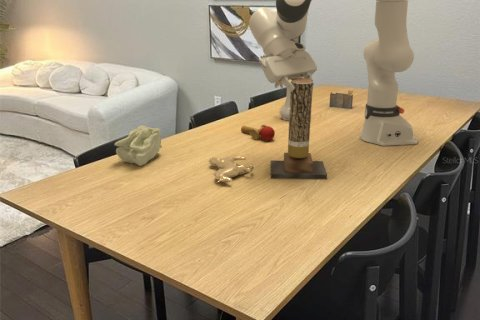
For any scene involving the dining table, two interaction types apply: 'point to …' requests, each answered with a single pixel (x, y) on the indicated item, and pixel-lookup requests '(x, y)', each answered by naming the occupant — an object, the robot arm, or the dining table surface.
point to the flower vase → (286, 107)
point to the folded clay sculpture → (139, 145)
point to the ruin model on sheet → (341, 100)
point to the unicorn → (229, 168)
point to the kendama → (260, 132)
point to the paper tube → (300, 118)
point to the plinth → (314, 175)
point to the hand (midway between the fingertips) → (302, 88)
